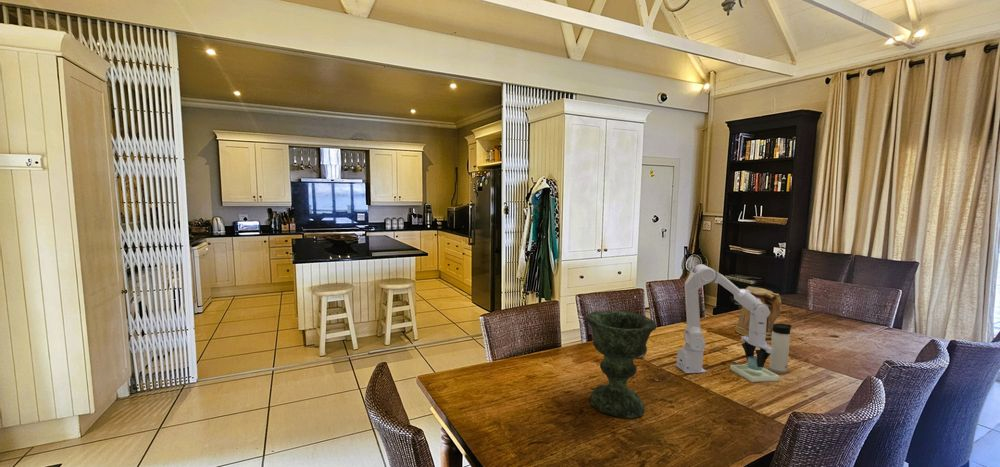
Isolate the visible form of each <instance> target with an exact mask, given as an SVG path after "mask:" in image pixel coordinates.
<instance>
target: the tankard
mask: <svg viewBox="0 0 1000 467" xmlns="http://www.w3.org/2000/svg"><path fill="white" fill-rule="evenodd" d="M744 289H745V290H749V291H750V292H751V294H752V295H753V296H754V297H756V298H759V299H760V300H761V301H760V302H761V303H763V304H765V305H767V306H768V308H769V311H770V315H769V316H768V317H767V323H766V336H765V341H766V340H771V339H772V329H773V324H775V322H776V320H777V319H778V317H779V316H780V314H781V312H782V299H781V298H782V296H781V295H780V294H779V293H774V292H773V291H772V290H769V289H766V288H762V287H756V286H747V287H745V288H744ZM750 313H751V312H749V310H748V309H746V308H745V307H744V306H742V305H741V310H740V313H739V317H738V321H737V322H736V325H735V328H734V331H735V332H736V333H737V334H740V335H741V336H747V337H749V325H750ZM753 315H754V314H753Z"/></svg>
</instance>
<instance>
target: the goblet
mask: <svg viewBox="0 0 1000 467" xmlns="http://www.w3.org/2000/svg"><path fill="white" fill-rule="evenodd" d="M584 319H585V321H586V323H587V324H589V326H590V330H591V331H592V337H593V341H592V344H593V346H594V347H593V348H595V350H596V351H597V352H598V353H599V354H601V355H603V360H602V361H601V362H600V363H599V368H600V370H601V372H602V374H604V375H606V378H607V381H608V384H601V385H598V386H597V387H595V388H594V389H593V390H592V391H591V394H590V396H589V402H590V404H591V406H593V408H595V409H596V410H597V411H599V412H601V413H603V414H605V415H609V416H612V417H617V418H624V419H625V418H626V419H637V418H640V417H642V416H643V415H644V413H645V405H644V402H643V400H642V398H641V397H640V396H639V394H638V393H637V392H635V391H634V390H632V389H630V388H629V387H627V382H628V380H629V379H631V378H632V377H634V376H635V375H636V374H637V370H638V368H637V366H636V364H635V363H634V359H639V358H638V357H640V356H642V355H643V354H644V353H645V352H646V347H647V343H648V340H649V338H650V335H651V333H652V332H653V331H655V330H656V329H657V327H658V324H657V322H655V321H654V320H653V319H651V318H649V317H647V316H645V315H642V314H639V313H634V312H629V311H623V310H599V311H593V312H590V313H588V314H587V315H586V316H585V318H584ZM646 353H647V352H646Z"/></svg>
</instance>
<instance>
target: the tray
mask: <svg viewBox="0 0 1000 467" xmlns="http://www.w3.org/2000/svg"><path fill="white" fill-rule="evenodd" d="M730 370H731V371H732V372H734V373H736V374H737V375H739V376H740V377H742V378H744V379H746V380H747V381H749V382H750V383H765V382H767V383H768V382H780V375H778V374H776V372H773V371H771V370H770V369H767V368H766V367H765V368H762V370H753V369H750V368H748V367H747V364H730Z"/></svg>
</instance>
